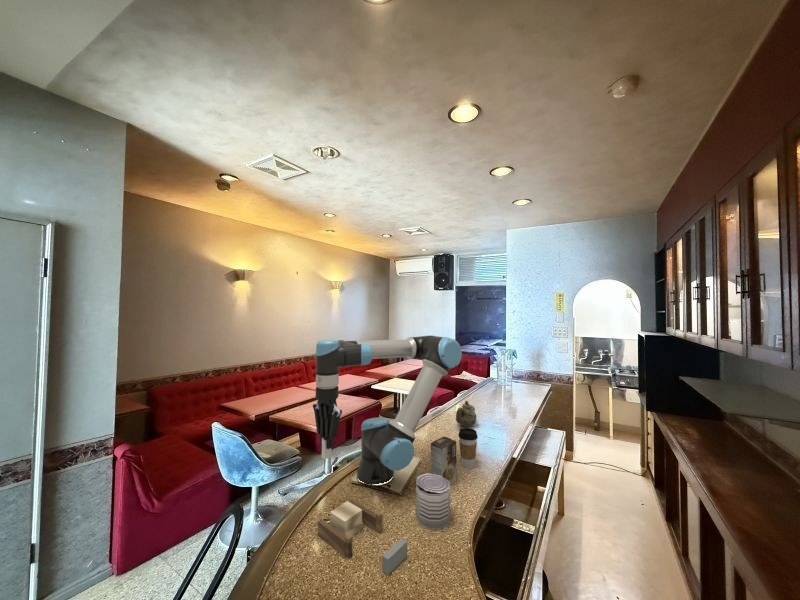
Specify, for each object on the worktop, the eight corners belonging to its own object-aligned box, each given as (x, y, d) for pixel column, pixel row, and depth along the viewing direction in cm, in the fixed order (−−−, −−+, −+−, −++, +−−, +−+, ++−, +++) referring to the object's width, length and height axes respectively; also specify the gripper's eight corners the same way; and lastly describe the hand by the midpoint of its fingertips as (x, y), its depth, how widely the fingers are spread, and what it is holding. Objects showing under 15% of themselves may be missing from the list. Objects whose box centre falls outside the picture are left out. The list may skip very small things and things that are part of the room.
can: (415, 506, 108) (415, 471, 108) (448, 506, 108) (448, 472, 108) (416, 529, 97) (416, 490, 97) (452, 530, 96) (452, 491, 96)
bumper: (401, 552, 88) (401, 538, 88) (406, 556, 86) (406, 541, 86) (382, 571, 81) (382, 555, 81) (388, 575, 80) (388, 559, 80)
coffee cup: (454, 464, 137) (454, 430, 137) (464, 457, 143) (464, 425, 143) (471, 471, 131) (471, 435, 131) (481, 464, 137) (481, 430, 137)
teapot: (464, 419, 193) (464, 394, 193) (482, 423, 186) (482, 398, 186) (448, 430, 175) (448, 403, 176) (467, 435, 168) (467, 407, 169)
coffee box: (444, 475, 128) (444, 435, 129) (457, 481, 124) (457, 440, 124) (430, 483, 122) (430, 442, 122) (443, 490, 117) (443, 447, 118)
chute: (352, 511, 105) (352, 496, 105) (382, 530, 96) (382, 513, 96) (317, 535, 94) (317, 517, 94) (348, 558, 85) (348, 539, 85)
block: (347, 519, 101) (347, 500, 101) (361, 529, 97) (362, 509, 97) (329, 531, 96) (330, 511, 96) (344, 542, 91) (345, 521, 92)
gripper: (306, 385, 105) (305, 455, 104) (330, 392, 97) (329, 468, 96) (324, 381, 111) (323, 447, 110) (348, 387, 103) (348, 459, 102)
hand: (326, 457), depth 103 cm, fingers closed
